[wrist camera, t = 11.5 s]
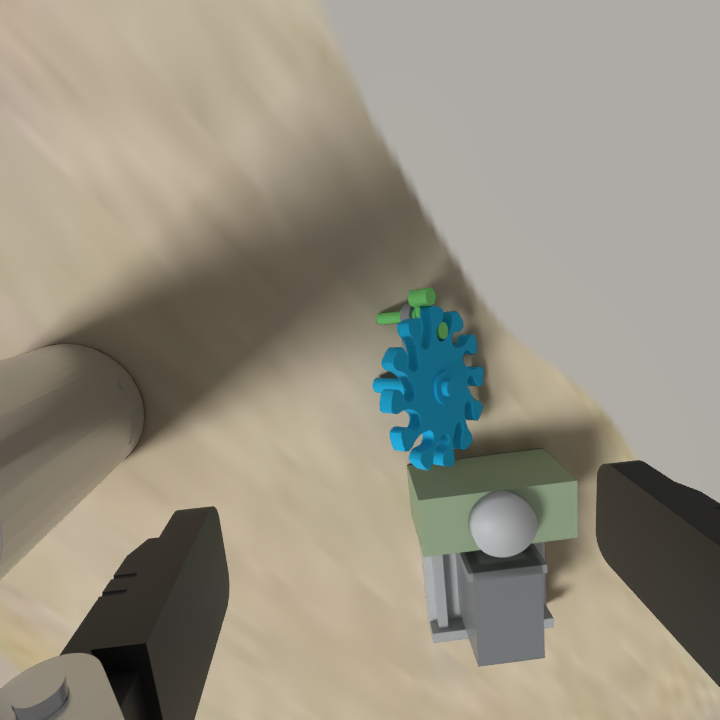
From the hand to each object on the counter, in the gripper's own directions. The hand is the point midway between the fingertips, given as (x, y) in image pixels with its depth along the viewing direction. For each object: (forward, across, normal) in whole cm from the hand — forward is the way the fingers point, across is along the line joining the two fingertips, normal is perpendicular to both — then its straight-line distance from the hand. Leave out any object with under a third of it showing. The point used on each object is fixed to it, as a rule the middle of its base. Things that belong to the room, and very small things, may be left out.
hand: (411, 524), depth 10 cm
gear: (+23, -5, +2) cm, 24 cm away
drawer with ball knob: (+23, -8, +16) cm, 29 cm away
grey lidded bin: (+22, -8, +18) cm, 29 cm away
